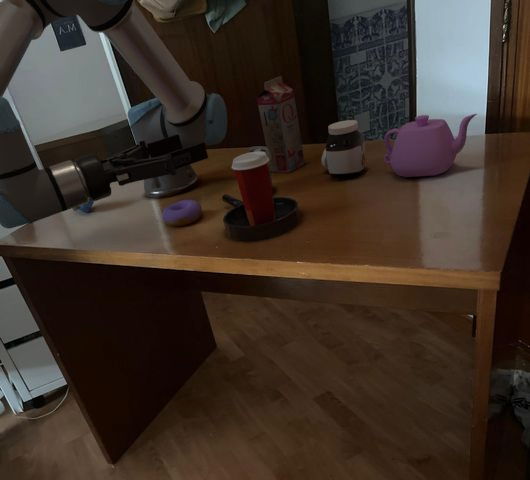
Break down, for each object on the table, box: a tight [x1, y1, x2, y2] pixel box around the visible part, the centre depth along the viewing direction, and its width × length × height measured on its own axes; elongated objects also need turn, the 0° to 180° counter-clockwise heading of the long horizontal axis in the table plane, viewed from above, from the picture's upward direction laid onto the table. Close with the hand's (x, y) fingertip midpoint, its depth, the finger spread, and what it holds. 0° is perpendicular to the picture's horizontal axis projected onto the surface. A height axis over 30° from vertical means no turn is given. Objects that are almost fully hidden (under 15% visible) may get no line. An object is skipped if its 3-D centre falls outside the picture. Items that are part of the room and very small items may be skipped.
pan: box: [222, 196, 301, 242], centre depth 112 cm, size 16×16×3 cm
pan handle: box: [221, 193, 244, 208], centre depth 122 cm, size 12×3×2 cm, turn 27°
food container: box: [249, 145, 274, 194], centre depth 127 cm, size 12×6×10 cm, turn 168°
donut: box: [161, 199, 203, 227], centre depth 124 cm, size 10×9×5 cm
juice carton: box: [256, 75, 306, 173], centre depth 138 cm, size 7×7×22 cm
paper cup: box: [231, 151, 276, 226], centre depth 109 cm, size 8×8×14 cm
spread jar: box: [320, 119, 367, 180], centre depth 127 cm, size 12×11×12 cm
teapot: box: [383, 113, 478, 178], centre depth 116 cm, size 20×13×12 cm, turn 64°
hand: (192, 145), depth 99 cm, fingers open, 13 cm apart
